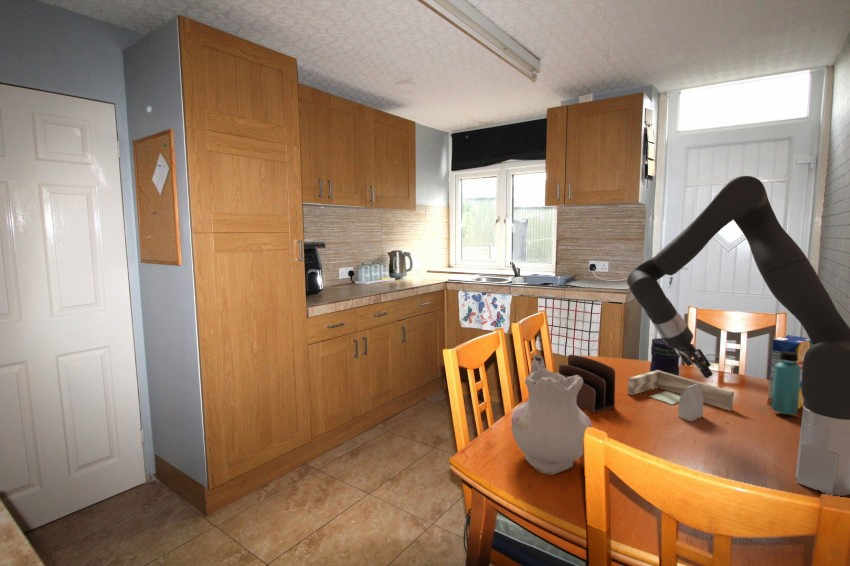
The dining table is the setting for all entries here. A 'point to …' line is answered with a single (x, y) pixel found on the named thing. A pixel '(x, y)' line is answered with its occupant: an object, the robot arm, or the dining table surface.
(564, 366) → the letter holder
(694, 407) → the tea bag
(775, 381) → the beverage bottle
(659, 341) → the storage jar
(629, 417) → the dining table surface
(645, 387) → the beige l-shaped piece
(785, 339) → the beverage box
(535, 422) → the ceramic pitcher
